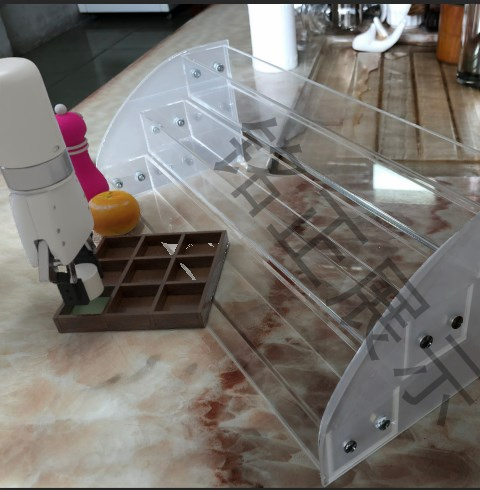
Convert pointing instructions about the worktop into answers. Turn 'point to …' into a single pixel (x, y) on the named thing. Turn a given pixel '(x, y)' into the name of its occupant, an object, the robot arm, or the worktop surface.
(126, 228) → the fruit
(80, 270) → the white cylinder puck
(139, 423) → the worktop surface
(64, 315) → the board
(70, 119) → the pink pepper grinder
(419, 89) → the worktop surface
